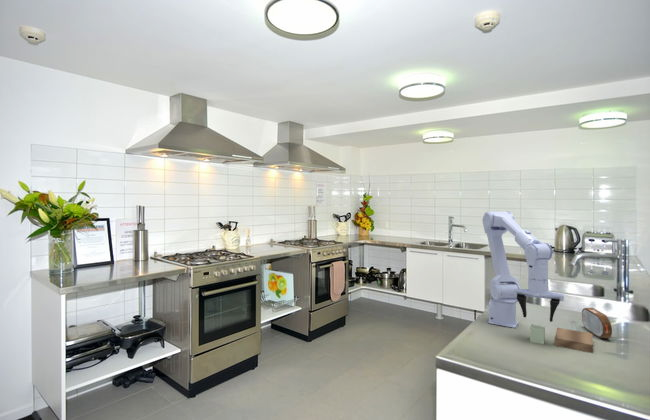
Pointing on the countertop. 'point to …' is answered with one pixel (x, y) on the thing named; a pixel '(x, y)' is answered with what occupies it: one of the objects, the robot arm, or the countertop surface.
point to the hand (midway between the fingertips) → (537, 318)
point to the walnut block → (574, 340)
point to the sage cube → (537, 334)
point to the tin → (596, 323)
